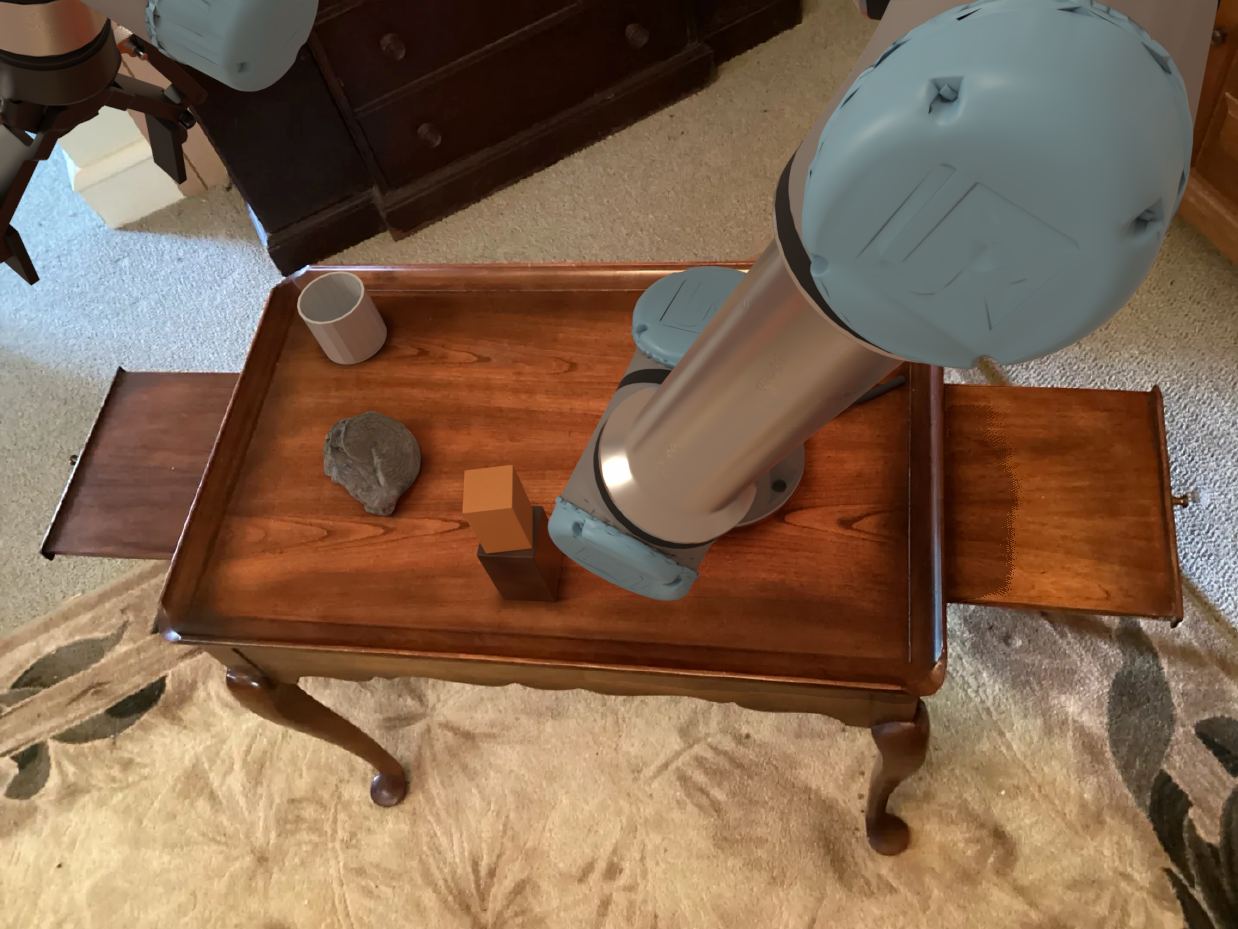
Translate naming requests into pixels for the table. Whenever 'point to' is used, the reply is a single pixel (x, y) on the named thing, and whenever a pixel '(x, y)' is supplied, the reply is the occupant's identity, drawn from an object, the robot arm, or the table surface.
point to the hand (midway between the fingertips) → (99, 219)
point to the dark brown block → (527, 565)
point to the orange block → (498, 509)
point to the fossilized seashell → (372, 459)
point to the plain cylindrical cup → (342, 317)
